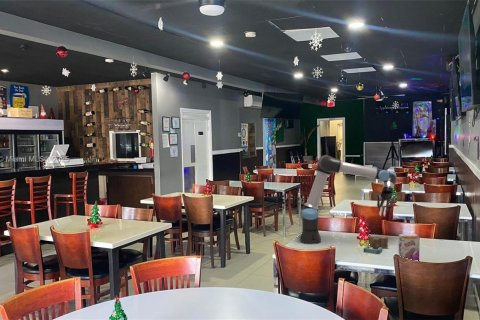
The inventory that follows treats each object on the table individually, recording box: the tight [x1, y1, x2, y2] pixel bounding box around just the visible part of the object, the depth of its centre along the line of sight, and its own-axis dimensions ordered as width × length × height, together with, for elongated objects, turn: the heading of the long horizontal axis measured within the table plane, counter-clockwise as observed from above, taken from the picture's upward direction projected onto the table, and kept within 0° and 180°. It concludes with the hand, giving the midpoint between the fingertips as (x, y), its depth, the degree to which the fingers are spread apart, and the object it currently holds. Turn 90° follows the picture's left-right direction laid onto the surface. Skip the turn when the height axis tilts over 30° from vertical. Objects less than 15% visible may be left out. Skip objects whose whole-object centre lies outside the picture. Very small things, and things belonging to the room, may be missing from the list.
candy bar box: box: [398, 233, 420, 262], centre depth 253 cm, size 11×5×16 cm, turn 84°
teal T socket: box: [363, 245, 383, 255], centre depth 277 cm, size 10×8×2 cm
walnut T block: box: [368, 235, 389, 250], centre depth 285 cm, size 12×10×7 cm
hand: (382, 215), depth 296 cm, fingers open, 2 cm apart
